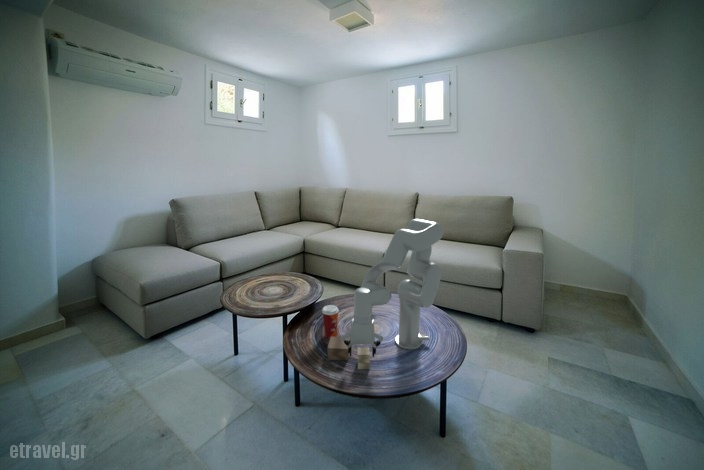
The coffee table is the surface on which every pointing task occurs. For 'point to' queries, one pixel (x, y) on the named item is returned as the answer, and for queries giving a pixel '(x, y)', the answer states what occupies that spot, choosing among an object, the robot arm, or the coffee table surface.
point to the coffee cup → (330, 320)
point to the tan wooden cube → (337, 349)
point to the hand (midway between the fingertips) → (361, 354)
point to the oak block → (363, 358)
